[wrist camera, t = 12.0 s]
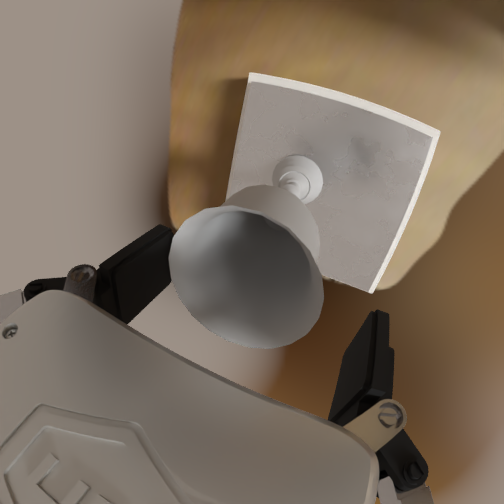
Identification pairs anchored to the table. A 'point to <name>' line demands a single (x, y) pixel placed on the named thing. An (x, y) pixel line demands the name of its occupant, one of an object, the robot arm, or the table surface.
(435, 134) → the base
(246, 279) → the chalice
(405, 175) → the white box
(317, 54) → the table surface
